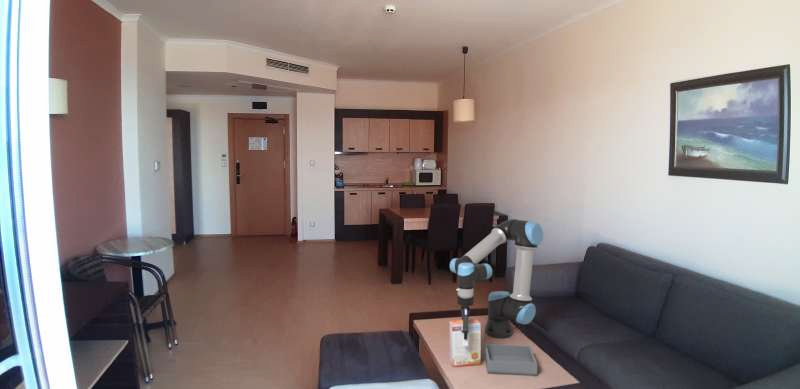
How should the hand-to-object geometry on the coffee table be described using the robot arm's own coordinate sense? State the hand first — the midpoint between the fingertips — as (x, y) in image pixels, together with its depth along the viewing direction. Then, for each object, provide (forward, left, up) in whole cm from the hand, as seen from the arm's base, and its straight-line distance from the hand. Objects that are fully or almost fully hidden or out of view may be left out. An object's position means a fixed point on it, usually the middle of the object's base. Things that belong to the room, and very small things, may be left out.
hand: (464, 339), depth 211 cm
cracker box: (0, 0, -12) cm, 12 cm away
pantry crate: (0, +21, -12) cm, 24 cm away
